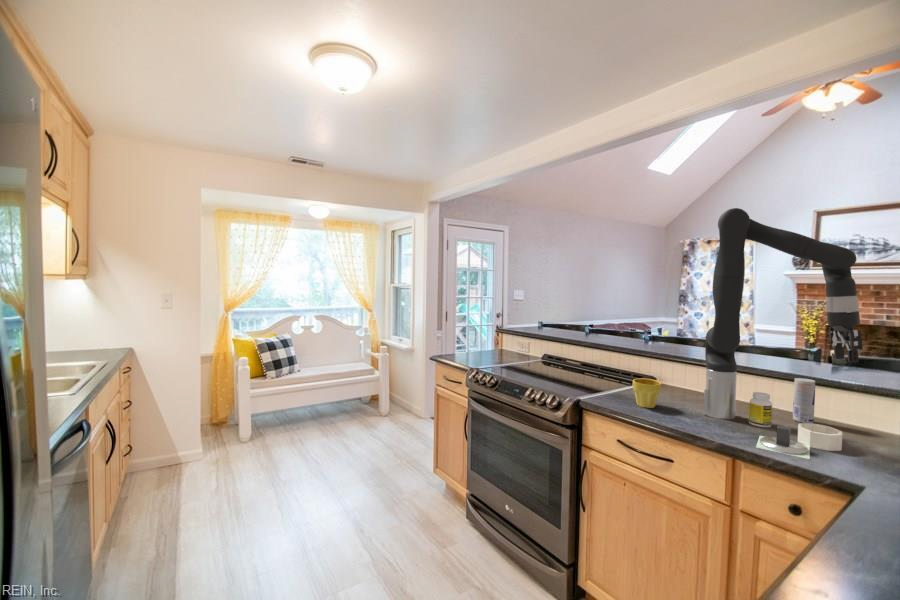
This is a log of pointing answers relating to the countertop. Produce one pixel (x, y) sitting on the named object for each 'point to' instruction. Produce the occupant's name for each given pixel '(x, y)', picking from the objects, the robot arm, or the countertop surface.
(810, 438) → the bowl
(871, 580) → the countertop surface
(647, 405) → the plant pot
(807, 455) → the mat
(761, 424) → the pill bottle
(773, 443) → the lid
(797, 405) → the beverage can
